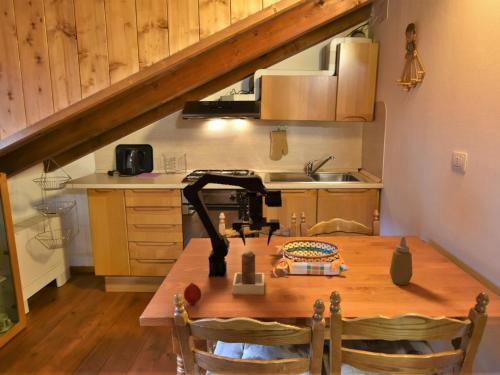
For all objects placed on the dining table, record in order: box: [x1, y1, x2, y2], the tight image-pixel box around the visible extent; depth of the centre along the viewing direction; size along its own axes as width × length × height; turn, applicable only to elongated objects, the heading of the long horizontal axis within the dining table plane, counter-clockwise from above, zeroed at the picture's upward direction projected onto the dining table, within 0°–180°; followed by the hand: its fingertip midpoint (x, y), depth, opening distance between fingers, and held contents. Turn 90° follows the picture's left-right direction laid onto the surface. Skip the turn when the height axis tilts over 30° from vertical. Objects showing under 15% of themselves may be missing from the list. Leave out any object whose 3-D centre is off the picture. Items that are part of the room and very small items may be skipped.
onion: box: [183, 282, 202, 306], centre depth 125 cm, size 6×6×8 cm
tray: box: [232, 272, 265, 296], centre depth 138 cm, size 11×11×4 cm
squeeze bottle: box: [389, 236, 413, 286], centre depth 140 cm, size 8×8×18 cm
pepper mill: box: [241, 250, 256, 284], centre depth 137 cm, size 5×5×13 cm
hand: (256, 245), depth 148 cm, fingers open, 9 cm apart
